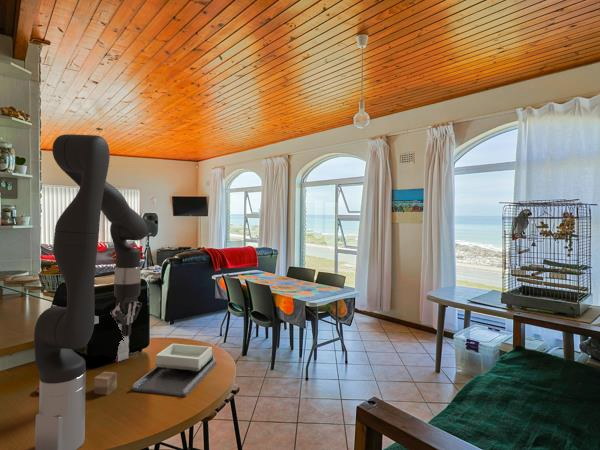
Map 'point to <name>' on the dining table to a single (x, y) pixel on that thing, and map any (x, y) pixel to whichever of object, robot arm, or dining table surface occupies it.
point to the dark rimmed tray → (172, 380)
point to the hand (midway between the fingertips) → (126, 335)
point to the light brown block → (105, 383)
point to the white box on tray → (184, 357)
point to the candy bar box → (123, 348)
